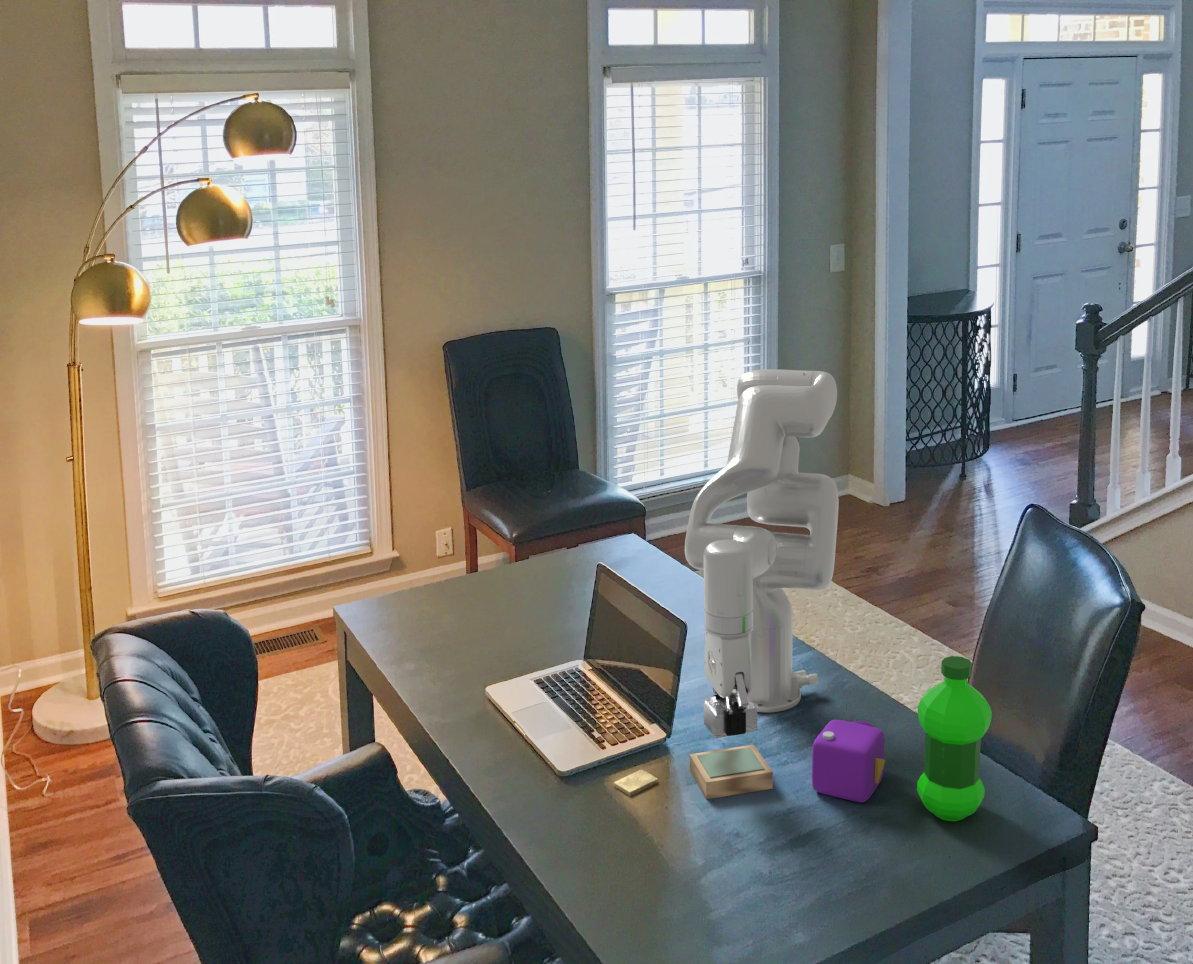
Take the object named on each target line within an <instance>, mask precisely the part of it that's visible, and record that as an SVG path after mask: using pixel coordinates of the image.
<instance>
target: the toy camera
mask: <svg viewBox="0 0 1193 964" xmlns="http://www.w3.org/2000/svg"><path fill="white" fill-rule="evenodd" d="M885 740H886V739H885V734H884V731H883V730H882V729H880V728H878V727H875V725H873V724H872V723H870V722H867V721H864V720H857V721H847V720H843V719H832V720H830V721H828V723H827V724H826V725H825V727H823V729H822V730H821V732H820V733H819V734H818V735H817V737H816V738H815V739H814V741H813V743H812V748H811V749H812V752H811V784H812V788H813V790H814V791H816V792H817V793H820V794H824V795H828V796H831V797H835V798H840V799H844V800H846V801H847V800H848V801H852V802H856V803H865V802H867V801H869V799H870V798H871V796H872V795H873V793H874V792H875V790H876V789H877V787H878V785H880V783H881V781H882V779H883V777H884V774H885V772H884V771H885V770H884V769H885V765H886V764H885V763H886V759H885V747H886V746H885Z"/></svg>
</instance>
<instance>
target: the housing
mask: <svg viewBox="0 0 1193 964" xmlns="http://www.w3.org/2000/svg"><path fill="white" fill-rule="evenodd" d="M747 698H748V697H747ZM734 702H737V697H734V698H732V705H733V703H734ZM725 712H728V711H727V701H726V698H721V699H716V698H715V697H714V696H708V697H704V701H703V725H704V726H705V727H706V729H707V730H708V731H709V732H710V734H712V736H713V738H715V739H720V738H726V737H728V736H727V735H726V733H725ZM753 732H758V712H757V707H756V706H755V705H754V704H753V703H752V702H751V701H750V700H749V699H748V705H747V706H746V733H747V734H748V733H753ZM746 733H745V734H746Z"/></svg>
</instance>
